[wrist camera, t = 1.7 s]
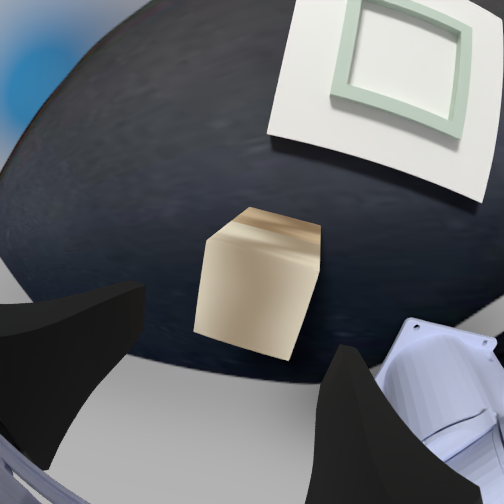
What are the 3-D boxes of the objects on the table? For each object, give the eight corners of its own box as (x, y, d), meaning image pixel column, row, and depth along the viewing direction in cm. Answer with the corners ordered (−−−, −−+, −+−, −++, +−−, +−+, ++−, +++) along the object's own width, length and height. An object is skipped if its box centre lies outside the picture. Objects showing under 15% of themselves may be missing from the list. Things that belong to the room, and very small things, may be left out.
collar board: (495, 23, 10) (506, 16, 9) (475, 200, 15) (487, 205, 14) (309, -42, 12) (307, -56, 11) (269, 134, 17) (264, 132, 16)
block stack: (320, 225, 18) (319, 271, 11) (301, 290, 20) (288, 360, 13) (249, 206, 19) (206, 240, 12) (236, 272, 21) (193, 331, 14)
